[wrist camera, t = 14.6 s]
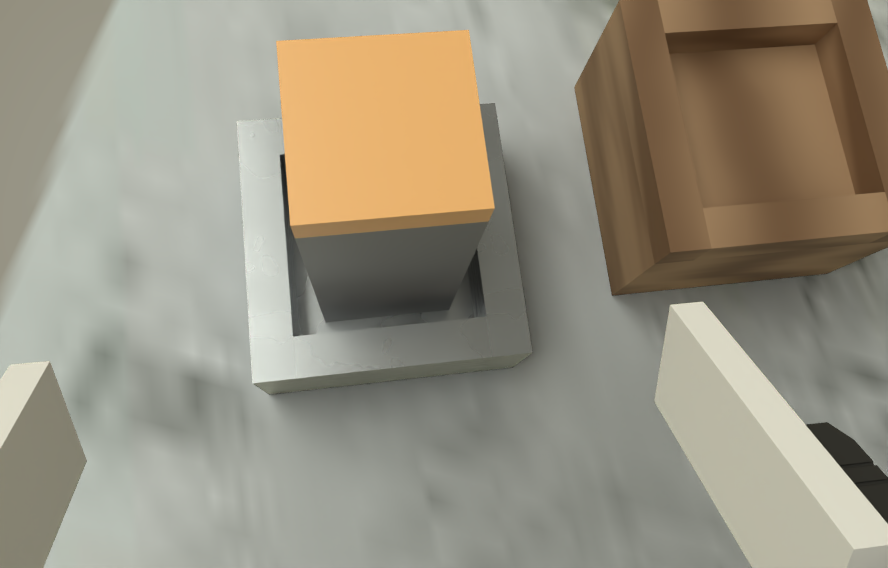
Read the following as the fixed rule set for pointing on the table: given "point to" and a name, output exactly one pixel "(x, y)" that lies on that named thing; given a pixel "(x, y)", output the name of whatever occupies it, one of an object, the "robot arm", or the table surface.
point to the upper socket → (736, 140)
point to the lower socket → (381, 338)
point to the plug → (384, 169)
